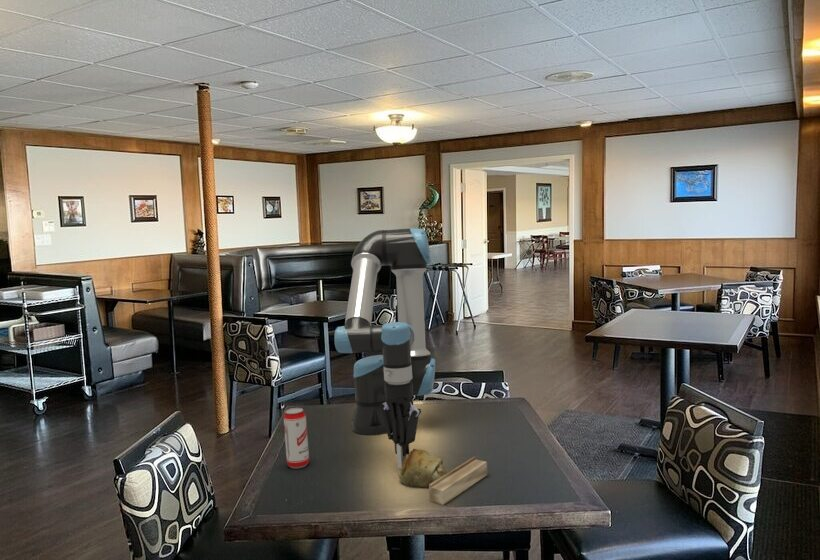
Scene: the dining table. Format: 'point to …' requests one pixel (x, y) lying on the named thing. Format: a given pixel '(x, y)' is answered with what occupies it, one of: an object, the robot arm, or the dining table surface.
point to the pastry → (421, 469)
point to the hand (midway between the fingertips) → (402, 466)
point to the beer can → (296, 438)
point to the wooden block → (457, 481)
